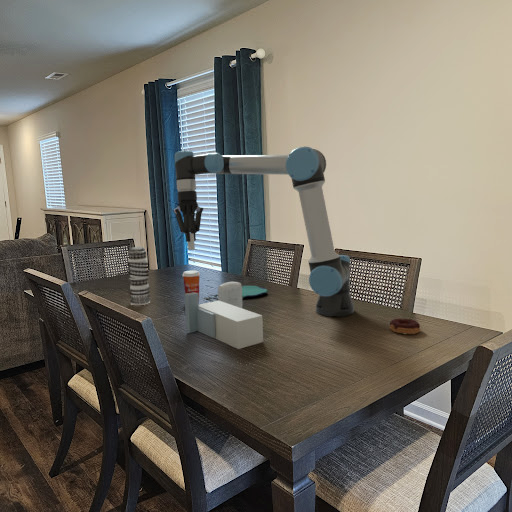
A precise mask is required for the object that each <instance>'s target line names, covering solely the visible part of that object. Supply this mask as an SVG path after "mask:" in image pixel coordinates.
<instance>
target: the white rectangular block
mask: <svg viewBox="0 0 512 512" xmlns="http://www.w3.org/2000/svg"><path fill="white" fill-rule="evenodd" d="M213 301H214V302H211V301H210V302H204V303H200V304H199V308H201V309H204V310H206V311H209V312H211V313H214V314H215V338H214V339H216V340H217V341H220V342H222V343H224V344H226V345H227V346H231V347H233V348H235V349H237V350H241V349H243V348H246V347H250V346H254V345H258V344H261V343H263V342H264V333H263V332H264V331H263V329H264V328H263V324H264V323H263V315H262V314H259V313H257V312H253V311H250V310H247V309H244V308H243V307H242V308H239V307H236V306H233V305H231V304H228V303H225V302H222V301H218V300H213Z"/></svg>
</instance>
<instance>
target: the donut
mask: <svg viewBox="0 0 512 512" xmlns="http://www.w3.org/2000/svg"><path fill="white" fill-rule="evenodd" d="M420 327H421V325H420V324H419V322H418V321H417V320H414V319H412V318H394V319H392V320H390V322H389V330H391V331H392V332H394V333H396V332H397V334H399V333H406V334H405V335H407V334H412V333H417V334H419V333H420V331H421V328H420ZM418 332H419V333H418ZM412 335H413V334H412Z"/></svg>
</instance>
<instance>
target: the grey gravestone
mask: <svg viewBox="0 0 512 512" xmlns="http://www.w3.org/2000/svg"><path fill="white" fill-rule="evenodd" d="M242 286H243V285H242V284H241V282H238V281H227V282H224V283H221V284H220V285H218V288H217V293H218V294H217V295H218V296H217V298H218V300H217V301H222V302H225V303H228V304H231V305H233V306H236V307H239V308H242V309H243V298H242Z"/></svg>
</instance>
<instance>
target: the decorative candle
mask: <svg viewBox="0 0 512 512" xmlns="http://www.w3.org/2000/svg"><path fill="white" fill-rule="evenodd" d="M127 253H128V260H127V261H126V262H127V264H126V267H127V266H128V267H127V274H128V278H129V281H130V282H129V283H130V284H129V286H130V287H129V299H130V300H129V301H130V306H132V305H144V306H146V305H145V304H148V303H150V304H151V298H150V297H151V294H149V293H151V292H150V287H149V283H148V282H149V281H148V278H149V277H150V274H149V270H148V269H149V262H148V258H147V250H146V249H145V248H144V247H141V246H136V247H135V246H134V247H130V248H129V250H128V251H127ZM148 305H149V304H148Z"/></svg>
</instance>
